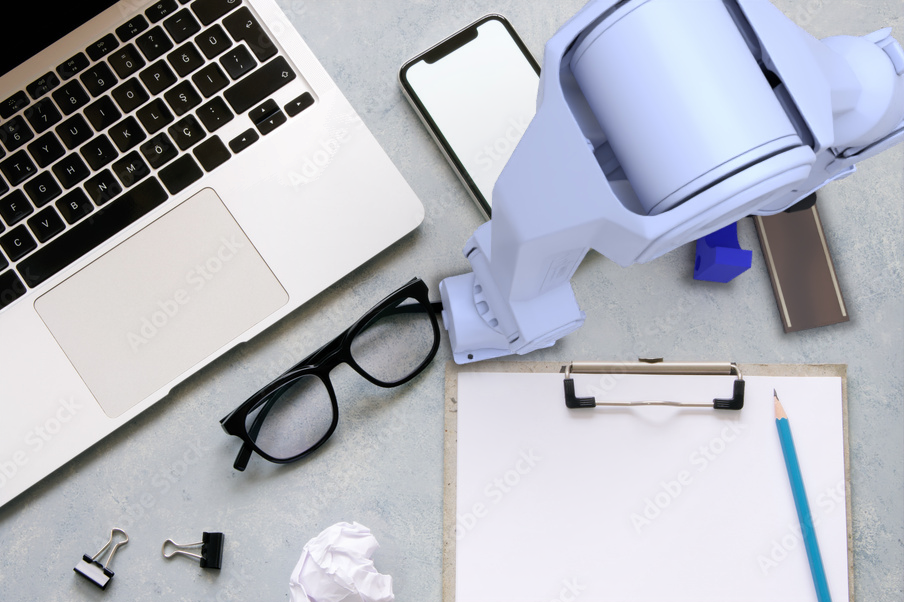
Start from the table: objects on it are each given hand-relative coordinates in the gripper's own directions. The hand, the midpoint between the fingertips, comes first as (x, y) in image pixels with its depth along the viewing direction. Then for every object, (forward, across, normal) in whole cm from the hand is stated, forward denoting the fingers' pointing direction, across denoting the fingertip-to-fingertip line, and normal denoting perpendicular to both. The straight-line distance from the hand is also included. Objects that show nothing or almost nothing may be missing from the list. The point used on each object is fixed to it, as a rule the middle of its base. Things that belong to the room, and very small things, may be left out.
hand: (719, 211), depth 69 cm
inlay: (+2, -7, +5) cm, 9 cm away
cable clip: (+2, 0, 0) cm, 2 cm away
